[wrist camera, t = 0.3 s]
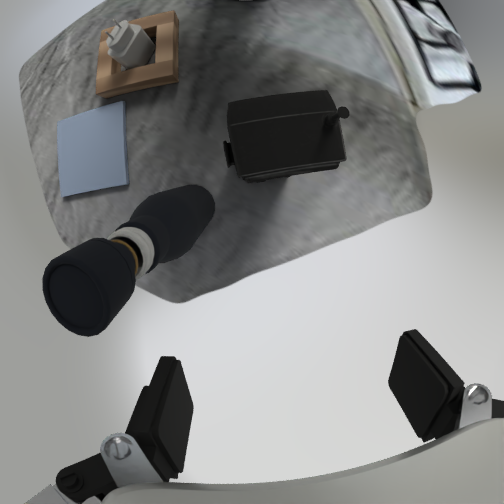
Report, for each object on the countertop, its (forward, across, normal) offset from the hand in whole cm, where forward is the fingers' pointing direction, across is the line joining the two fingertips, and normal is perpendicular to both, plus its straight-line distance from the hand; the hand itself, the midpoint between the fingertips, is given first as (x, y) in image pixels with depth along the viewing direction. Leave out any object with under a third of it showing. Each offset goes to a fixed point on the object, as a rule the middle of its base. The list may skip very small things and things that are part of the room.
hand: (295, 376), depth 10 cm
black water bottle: (+31, +9, -4) cm, 32 cm away
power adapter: (+31, +16, -29) cm, 45 cm away
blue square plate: (+31, +25, -15) cm, 42 cm away
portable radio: (+31, -1, -10) cm, 32 cm away
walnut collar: (+31, +16, -29) cm, 45 cm away
